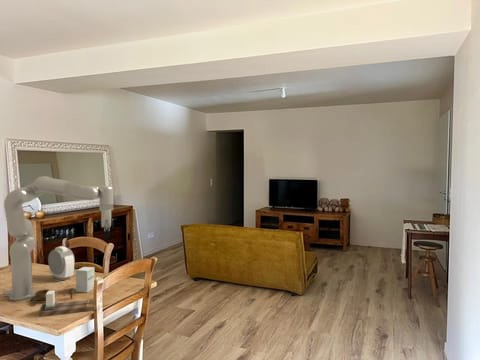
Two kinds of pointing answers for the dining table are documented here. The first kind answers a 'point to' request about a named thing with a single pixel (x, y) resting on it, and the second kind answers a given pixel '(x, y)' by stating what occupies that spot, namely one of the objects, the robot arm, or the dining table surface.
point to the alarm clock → (61, 263)
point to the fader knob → (50, 300)
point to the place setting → (42, 296)
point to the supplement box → (85, 279)
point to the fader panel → (68, 308)
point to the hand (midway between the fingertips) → (106, 236)
